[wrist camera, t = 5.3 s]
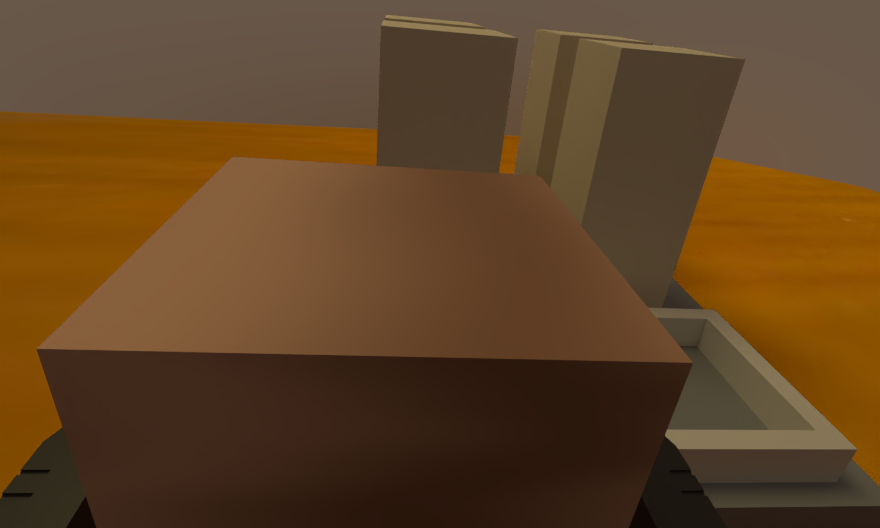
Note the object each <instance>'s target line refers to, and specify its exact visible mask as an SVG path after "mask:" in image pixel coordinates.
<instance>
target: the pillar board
mask: <svg viewBox="0 0 880 528" xmlns="http://www.w3.org/2000/svg"><path fill="white" fill-rule="evenodd" d="M517 41H518V38H516V37H513V36H510V35H507V34H504V33H500V32H498V31H493V30H484V27H482V26H479V25H476V24H473V23H467V22H456V21H445V20H435V19H424V18H413V17H402V16H393V15H386V17H385V20H384V21H383V23H382V25H381V44H380V75H379V107H378V138H377V166H389V167H406V168H422V169H438V170H454V171H470V172H486V173H499V167H500V160H501V153H502V146H503V139H504V132H505V125H506V118H507V111H508V104H509V97H510V91H511V84H512V77H513V70H514V62H515V56H516V48H517ZM652 44H653V43H650V42H644V41H639V40H633V39H627V38H621V37H614V36H605V35H594V34H582V33H572V32H562V31H551V30H541V29H537V31H536V37H535V44H534V50H533V56H532V63H531V69H530V75H529V83H528V88H527V94H526V101H525V107H524V113H523V120H522V126H521V132H520V139H519V145H518V151H517V158H516V164H515V170H514V174H518V175H535V176H541V178H542V179H543V180H544V181H545V182H546V184H547V185H548V186H549V187H550V189H551V190H552V191H553V192H554V193H555V195H556V196H557V197H558V198H559V200H560V201H561V202H562V203H563V204H564V206H565V207H566V208H567V209H568V211H569V212H570V213H571V214H572V215H573V217H574V218H575V219H576V220H577V222H578V223H579V224H580V225H581V226H582V228H583V229H584V230H585V231H586V233H587V234H588V235H589V236H590V237H591V239H592V240H593V241H594V242H595V244H596V245H597V246H598V247H599V248H600V250H601V251H602V252H603V253H604V255H605V256H606V257H607V258H608V259H609V261H610V262H611V263H612V264H613V265H614V267H615V268H616V269H617V270H618V272H619V273H620V274H621V275H622V276H623V278H624V279H625V280H626V281H627V283H628V284H629V285H630V286H631V287H632V289H633V290H634V291H635V292H636V294H637V295H638V296H639V297H640V298H641V300H642V301H643V302H644V303H645V305H646V306H647V307H648V308H649V309H650V311H651V312H652V313H653V314H654V316H655V317H656V318H657V319H658V320H659V322H660V323H661V324H662V325H663V327H664V328H665V329H666V330H667V331H668V333H669V334H670V335H671V336H672V337H673V339H674V340H675V341H676V342H677V344H678V345H679V346H680V347H681V348H682V350H683V351H684V352H685V353H686V355H687V356H688V357H689V358H690V359H691V361H692V362H693V365H692V367H691V370H690V372H689V375H688V378H687V380H686V383H685V385H684V388H683V390H682V393H681V395H680V398H679V401H678V403H677V406H676V408H675V411H674V413H673V416H672V418H671V421H670V424H669V426H668V429H667V431H666V434H665V436H666V437H667V438H668V439H669V440H670V441H671V442H672V443H673V444H675V445H676V446H677V448H678V450H679V451H680V453H681V454H682V456H683V458H684V459H685V461H686V462H687V464H688V466H689V467H690V469H691V474H692V475H695V477H696V478H697V480H698V482H699V483H700V485H701V486H702V488H703V490H704V495H705V496H708V498H709V499H710V501H711V502H712V504H713V506H714V507H715V509H716V510H717V512H718V513H719V515H720V517H721V518H722V520H723V521H724V523H725V525H726V526H727V528H880V487H879V486H878V485H877V484H876V483H875V482H874V481H873V480H872V479H871V478H870V477H869V476H868V475H867V474H866V473H865V472H864V471H863V470H862V469H861V468H860V467H859V466H858V465H857V464H856V463H855V462H854V461H853V460H852V457H853V456H854V454H855V452H856V451H857V449H856V448H855V447H854V446H853V445H852V444H851V443H850V442H849V441H848V440H847V439H846V438H845V437H844V436H843V435H842V434H841V433H840V432H839V431H838V430H837V429H836V428H835V427H834V426H833V425H832V424H831V423H830V422H829V421H828V420H827V419H826V418H825V417H824V416H823V415H822V414H821V413H820V412H819V411H817V410H816V409H815V408H814V407H813V406H812V405H811V404H810V403H809V402H808V401H807V400H806V399H805V398H804V397H803V396H802V395H801V394H800V393H799V392H798V391H797V390H796V389H795V388H794V387H793V386H792V385H791V384H790V383H789V382H788V381H787V380H786V379H785V378H784V377H783V376H782V375H781V374H780V373H779V372H778V371H776V370H775V369H774V368H773V367H772V366H771V365H770V364H769V363H768V362H767V361H766V360H765V359H764V358H763V357H762V356H761V355H760V354H759V353H758V352H757V351H756V350H755V349H754V348H753V347H752V346H751V345H750V344H749V343H748V342H747V341H746V340H745V339H744V338H743V337H742V336H741V335H740V334H739V333H738V332H736V331H735V330H734V329H733V328H732V327H731V326H730V325H729V324H728V323H727V322H726V321H725V320H724V319H723V318H722V317H721V316H720V315H719V314H718V313H717V312H716V311H715V310H705V309H703V308H702V307H701V306H700V305H699V304H698V303H697V302H696V301H695V300H694V299H693V298H692V297H691V296H690V295H689V294H688V293H687V292H686V291H685V290H684V289H683V288H682V287H681V286H680V285H679V284H678V283H677V282H676V281H675V280H674V279H673V278H672V276H673V273H674V270H675V268H676V265H677V262H678V259H679V256H680V253H681V250H682V247H683V244H684V241H685V238H686V235H687V232H688V229H689V226H690V223H691V220H692V217H693V214H694V211H695V208H696V205H697V202H698V199H699V196H700V193H701V190H702V187H703V184H704V181H705V178H706V175H707V172H708V169H709V166H710V163H711V160H712V157H713V154H714V151H715V148H716V145H717V142H718V139H719V136H720V133H721V130H722V127H723V124H724V121H725V118H726V115H727V112H728V110H729V106H730V104H731V100H732V97H733V95H734V92H735V89H736V86H737V83H738V80H739V76H740V74H741V71H742V68H743V65H744V62H745V59H742V58H736V57H731V56H725V55H719V54H713V53H708V52H702V51H696V50H690V49H684V48H677V47H666V46H655V45H652Z"/></svg>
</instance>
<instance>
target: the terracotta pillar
mask: <svg viewBox="0 0 880 528" xmlns="http://www.w3.org/2000/svg"><path fill="white" fill-rule="evenodd" d="M37 352H38V355H39V358H40V361H41V364H42V367H43V370H44V373H45V376H46V379H47V382H48V385H49V388H50V391H51V394H52V397H53V400H54V403H55V406H56V409H57V411H58V414H59V417H60V420H61V423H62V426H63V429H64V432H65V435H66V438H67V441H68V444H69V447H70V450H71V453H72V456H73V459H74V462H75V465H76V468H77V471H78V474H79V477H80V480H81V483H82V486H83V489H84V492H85V495H86V498H87V501H88V504H89V507H90V510H91V513H92V516H93V519H94V522H95V525H96V528H629V526H630V524H631V521H632V518H633V516H634V513H635V511H636V508H637V506H638V503H639V500H640V498H641V495H642V493H643V490H644V488H645V485H646V483H647V480H648V477H649V475H650V472H651V470H652V467H653V465H654V462H655V459H656V457H657V454H658V452H659V449H660V447H661V444H662V442H663V439H664V436H665V434H666V431H667V429H668V426H669V424H670V421H671V418H672V416H673V413H674V411H675V408H676V406H677V403H678V401H679V398H680V395H681V393H682V390H683V388H684V385H685V383H686V380H687V378H688V375H689V372H690V370H691V367H692V365H693V362H692V361H691V359H690V358H689V357H688V356H687V355H686V353H685V352H684V351H683V350H682V348H681V347H680V346H679V345H678V344H677V342H676V341H675V340H674V339H673V337H672V336H671V335H670V334H669V333H668V331H667V330H666V329H665V328H664V327H663V325H662V324H661V323H660V322H659V320H658V319H657V318H656V317H655V316H654V314H653V313H652V312H651V311H650V309H649V308H648V307H647V306H646V305H645V303H644V302H643V301H642V300H641V298H640V297H639V296H638V295H637V294H636V292H635V291H634V290H633V289H632V287H631V286H630V285H629V284H628V283H627V281H626V280H625V279H624V278H623V276H622V275H621V274H620V273H619V272H618V270H617V269H616V268H615V267H614V265H613V264H612V263H611V262H610V261H609V259H608V258H607V257H606V256H605V255H604V253H603V252H602V251H601V250H600V248H599V247H598V246H597V245H596V244H595V242H594V241H593V240H592V239H591V237H590V236H589V235H588V234H587V233H586V231H585V230H584V229H583V228H582V226H581V225H580V224H579V223H578V222H577V220H576V219H575V218H574V217H573V215H572V214H571V213H570V212H569V211H568V209H567V208H566V207H565V206H564V204H563V203H562V202H561V201H560V200H559V198H558V197H557V196H556V195H555V193H554V192H553V191H552V190H551V189H550V187H549V186H548V185H547V184H546V182H545V181H544V180H543V179H542V178H541V176H535V175H518V174H502V173H486V172H470V171H454V170H438V169H422V168H406V167H389V166H373V165H357V164H341V163H325V162H309V161H293V160H277V159H260V158H244V157H232V158H231V159H230V160H229V161H228V162H227V163H226V164H225V165H224V166H223V167H222V168H221V169H220V170H219V171H218V172H217V173H216V174H215V175H214V176H213V177H212V178H210V179H209V180H208V181H207V182H206V183H205V184H204V185H203V186H202V187H201V188H200V189H199V190H198V191H197V192H196V193H195V194H194V195H193V196H192V197H191V198H190V199H189V200H188V201H187V202H186V203H185V204H184V205H183V206H182V207H181V208H180V209H179V210H178V211H177V212H176V213H175V214H174V215H173V216H172V217H171V218H170V219H169V220H168V221H167V222H166V223H165V224H163V225H162V226H161V227H160V228H159V229H158V230H157V231H156V232H155V233H154V234H153V235H152V236H151V237H150V238H149V239H148V240H147V241H146V242H145V243H144V244H143V245H142V246H141V247H140V248H139V249H138V250H137V251H136V252H135V253H134V254H133V255H132V256H131V257H130V258H129V259H128V260H127V261H126V262H125V263H124V264H123V265H122V266H121V267H120V268H119V269H118V270H117V271H115V272H114V273H113V274H112V275H111V276H110V277H109V278H108V279H107V280H106V281H105V282H104V283H103V284H102V285H101V286H100V287H99V288H98V289H97V290H96V291H95V292H94V293H93V294H92V295H91V296H90V297H89V298H88V299H87V300H86V301H85V302H84V303H83V304H82V305H81V306H80V307H79V308H78V309H77V310H76V311H75V312H74V313H73V314H72V315H71V316H70V317H68V318H67V319H66V320H65V321H64V322H63V323H62V324H61V325H60V326H59V327H58V328H57V329H56V330H55V331H54V332H53V333H52V334H51V335H50V336H49V337H48V338H47V339H46V340H45V341H44V342H43V343H42V344H41V345H40V346H39V347H38V348H37Z"/></svg>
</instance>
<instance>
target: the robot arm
mask: <svg viewBox="0 0 880 528" xmlns="http://www.w3.org/2000/svg"><path fill="white" fill-rule="evenodd" d="M2 494H3V495H2V498H1V499H0V528H96V525H95V522H94V519H93V516H92V513H91V510H90V507H89V504H88V501H87V498H86V495H85V492H84V489H83V486H82V483H81V480H80V477H79V474H78V471H77V468H76V465H75V462H74V459H73V456H72V453H71V450H70V447H69V444H68V441H67V438H66V435H65V432H64V429H63V428H61V429H60V430H59V431H57V432H56V433H55V434H53V435H52V436H50V437H49V438H48V439H46V440H45V441H44V442H42V444H41V445H40V446H39V448H38V449H37V450H36V451H35V453H34V454H33V455H32V456H31V458H30V459H29V460H28V461H27V463H26V464H25V465H24V466H23V468H22V469H21V473H20V475H16V477H15V478H14V479H13V480H12V482H11V483H10V484H9V485H8V487H7V488H6V489H5V490H4V492H3V493H2ZM629 528H727V526H726V525H725V523H724V521H723V520H722V518H721V517H720V515H719V513H718V512H717V510H716V509H715V507H714V506H713V504H712V502H711V501H710V499H709V498H708V496H705V495H704V490H703V488H702V486H701V485H700V483H699V482H698V480H697V478H696V477H695V475H692V474H691V469H690V467H689V466H688V464H687V462H686V461H685V459H684V458H683V456H682V454H681V453H680V451H679V450H678V448H677V446H676V445H675V444H673V443H672V442H671V441H670V440H669V439H668V438H667V437H666V436H664V439H663V442H662V444H661V447H660V449H659V452H658V454H657V457H656V459H655V462H654V465H653V467H652V470H651V472H650V475H649V477H648V480H647V483H646V485H645V488H644V490H643V493H642V495H641V498H640V500H639V503H638V506H637V508H636V511H635V513H634V516H633V518H632V521H631V524H630V526H629Z"/></svg>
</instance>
